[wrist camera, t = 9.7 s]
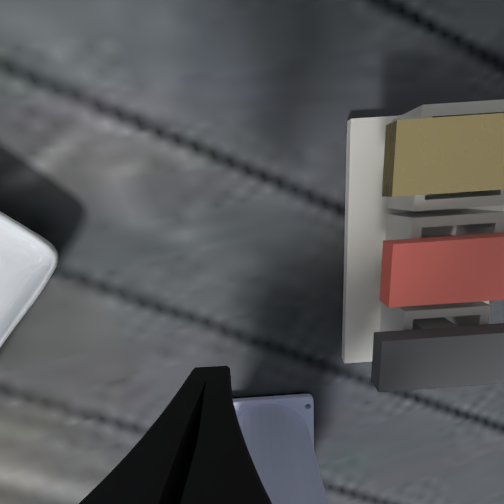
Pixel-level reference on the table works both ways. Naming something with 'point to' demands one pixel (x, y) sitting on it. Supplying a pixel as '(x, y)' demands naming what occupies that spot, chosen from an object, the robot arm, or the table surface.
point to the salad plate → (21, 271)
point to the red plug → (442, 270)
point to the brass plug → (444, 155)
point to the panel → (402, 230)
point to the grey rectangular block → (438, 356)
